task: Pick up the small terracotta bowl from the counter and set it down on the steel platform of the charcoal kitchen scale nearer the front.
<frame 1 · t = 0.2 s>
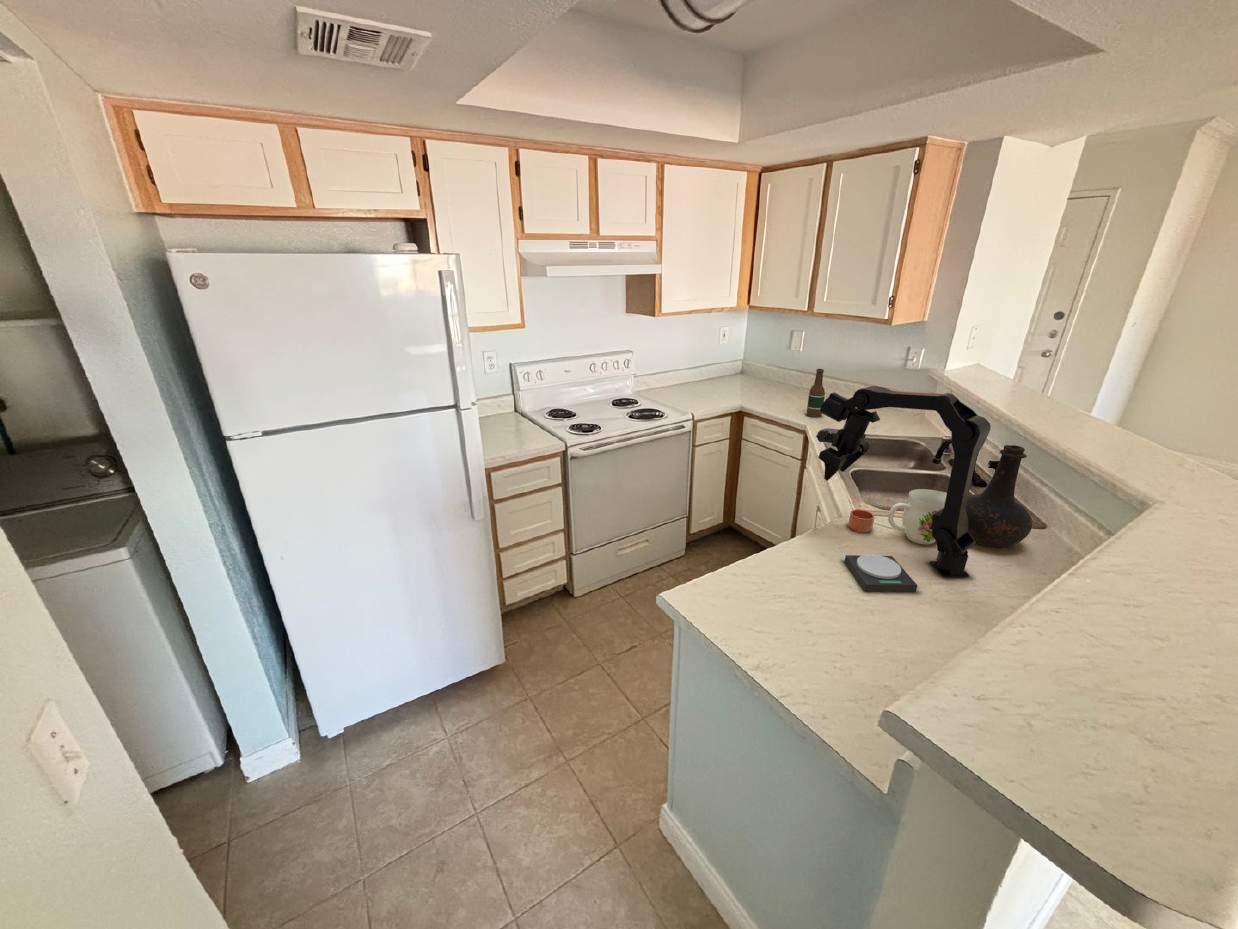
hand: (834, 475, 148), 15 cm above the counter, tool pointing down, fingers open, 9 cm apart
dark brown vase: (984, 539, 142), on the counter
scale: (878, 576, 126), on the counter
pitcher: (916, 539, 143), on the counter
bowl: (859, 527, 149), on the counter
beer bottle: (813, 415, 259), on the counter
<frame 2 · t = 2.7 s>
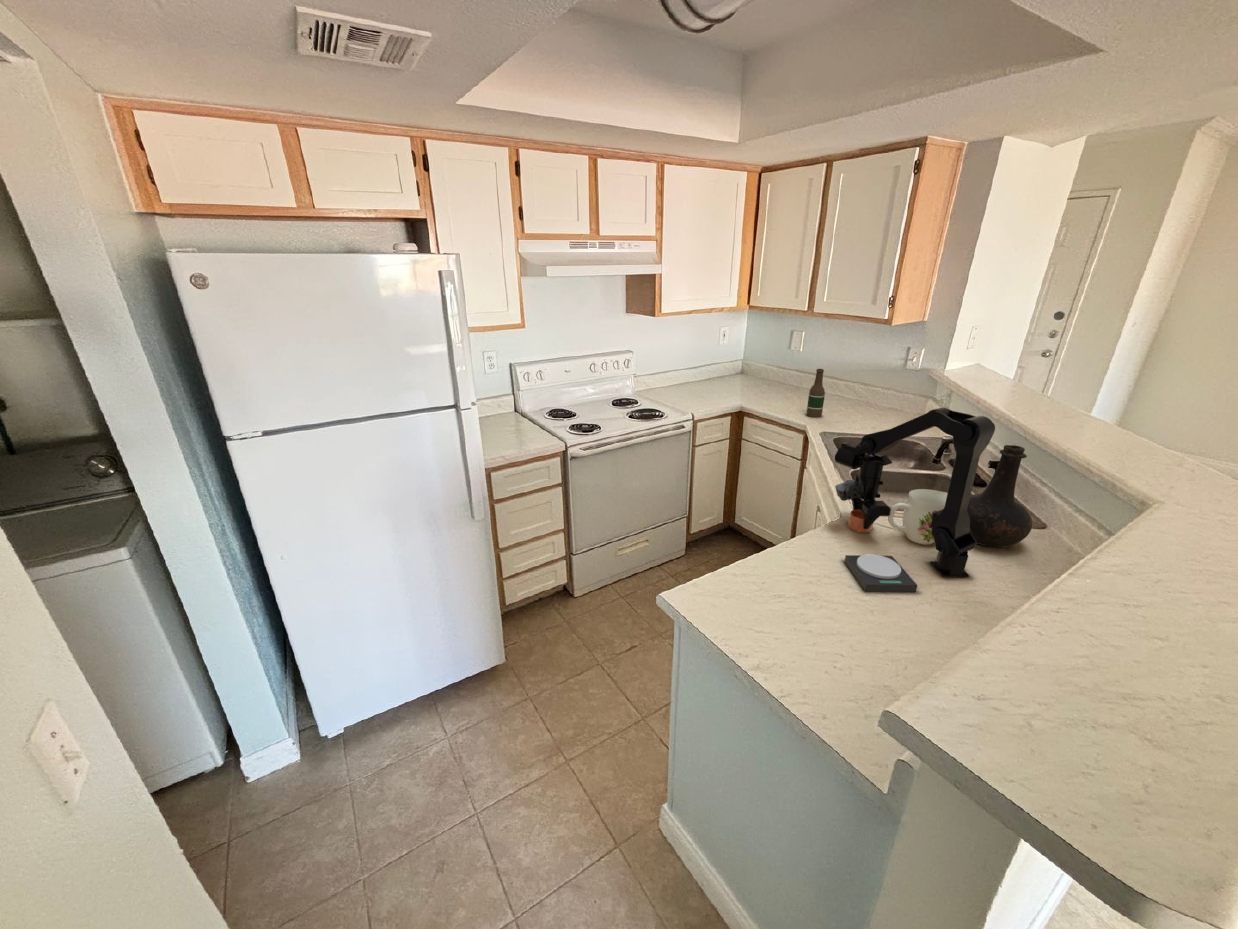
hand: (860, 523, 148), 2 cm above the counter, tool pointing down, fingers closed on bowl, 6 cm apart
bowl: (859, 527, 149), on the counter, touching gripper
everything else where it was.
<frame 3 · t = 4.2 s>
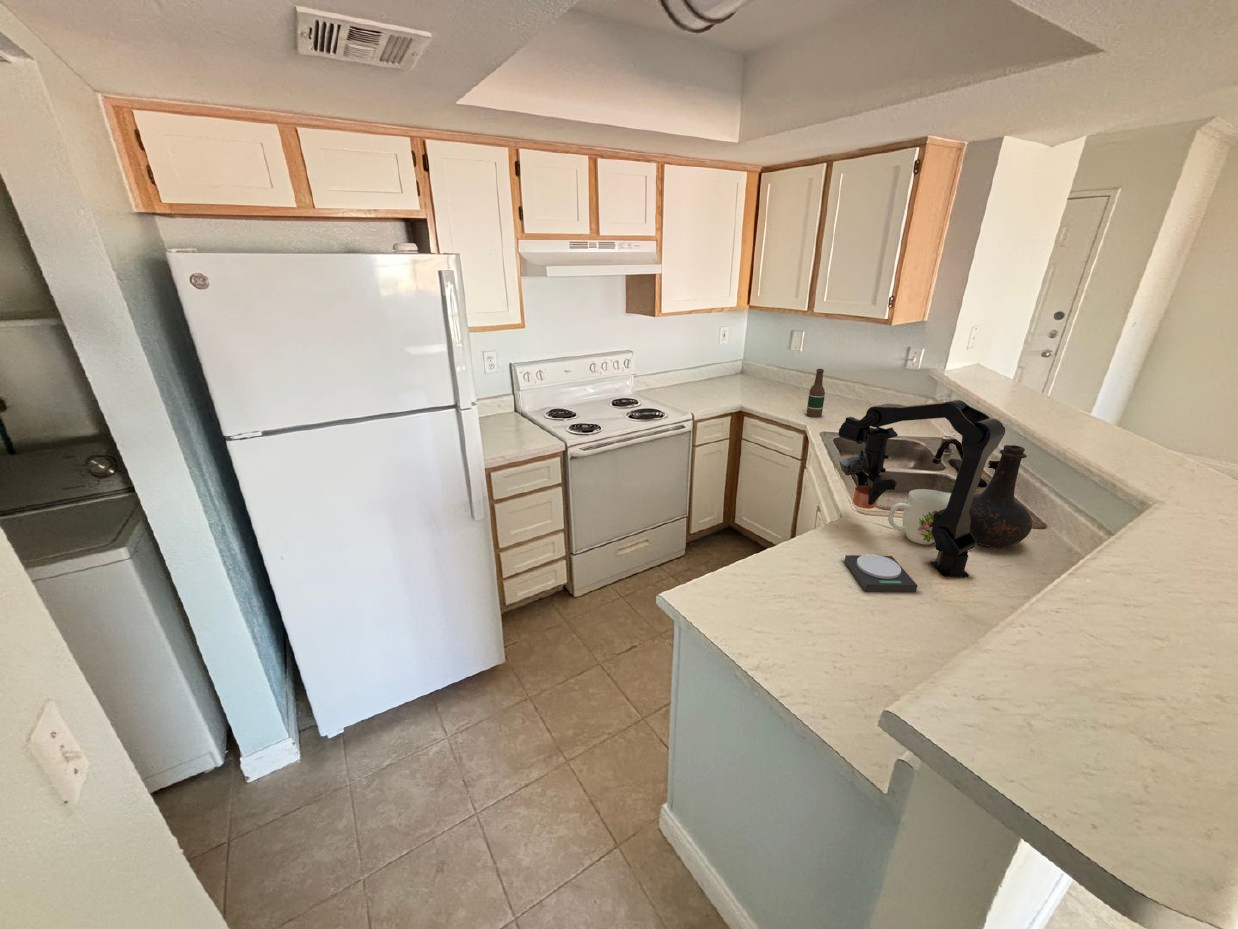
hand: (865, 499, 145), 9 cm above the counter, tool pointing down, fingers closed on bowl, 6 cm apart
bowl: (864, 504, 146), point 8 cm above the counter, touching gripper
everything else where it was.
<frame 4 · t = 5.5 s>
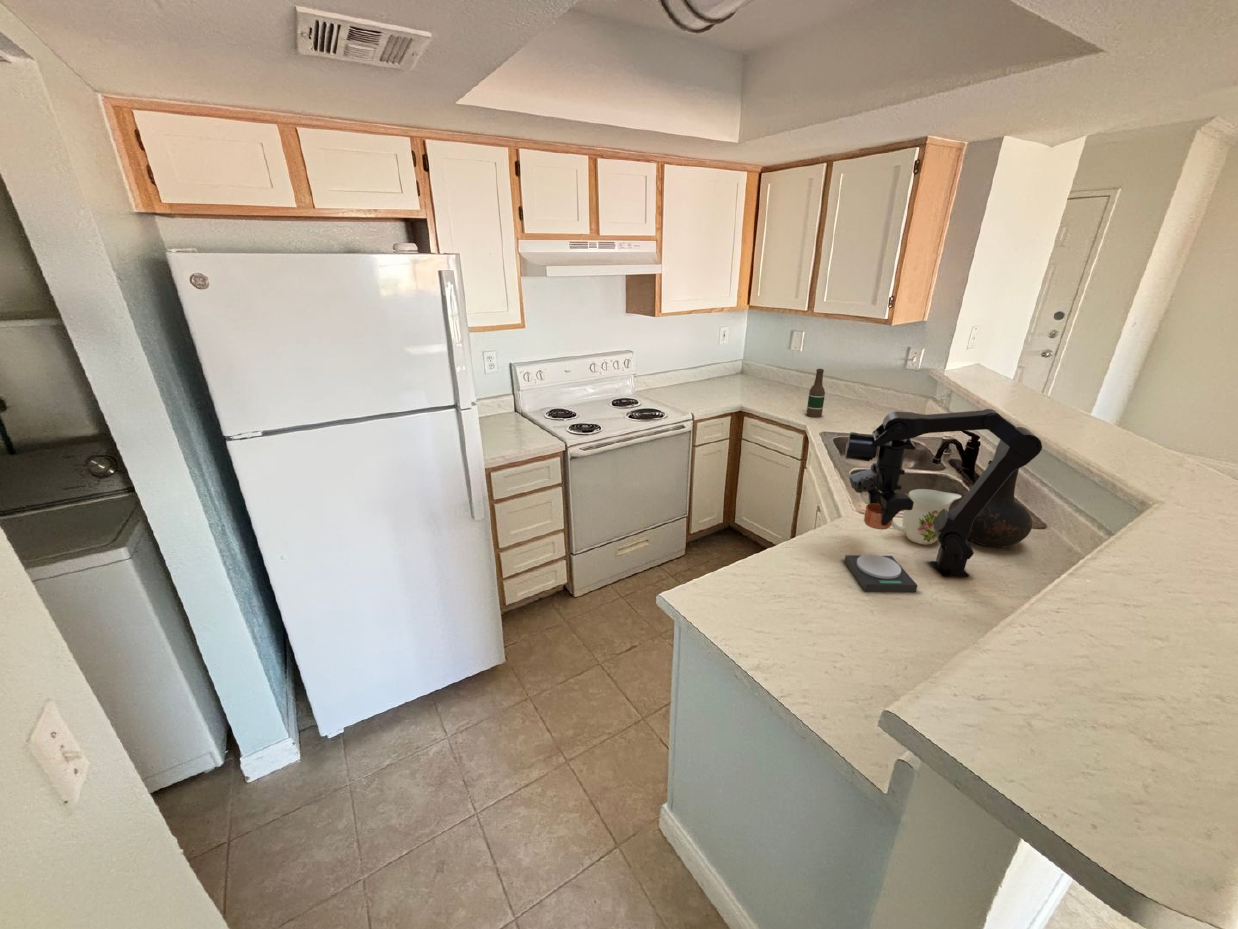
hand: (878, 518, 130), 11 cm above the counter, tool pointing down, fingers closed on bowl, 6 cm apart
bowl: (876, 524, 131), point 10 cm above the counter, touching gripper
everything else where it was.
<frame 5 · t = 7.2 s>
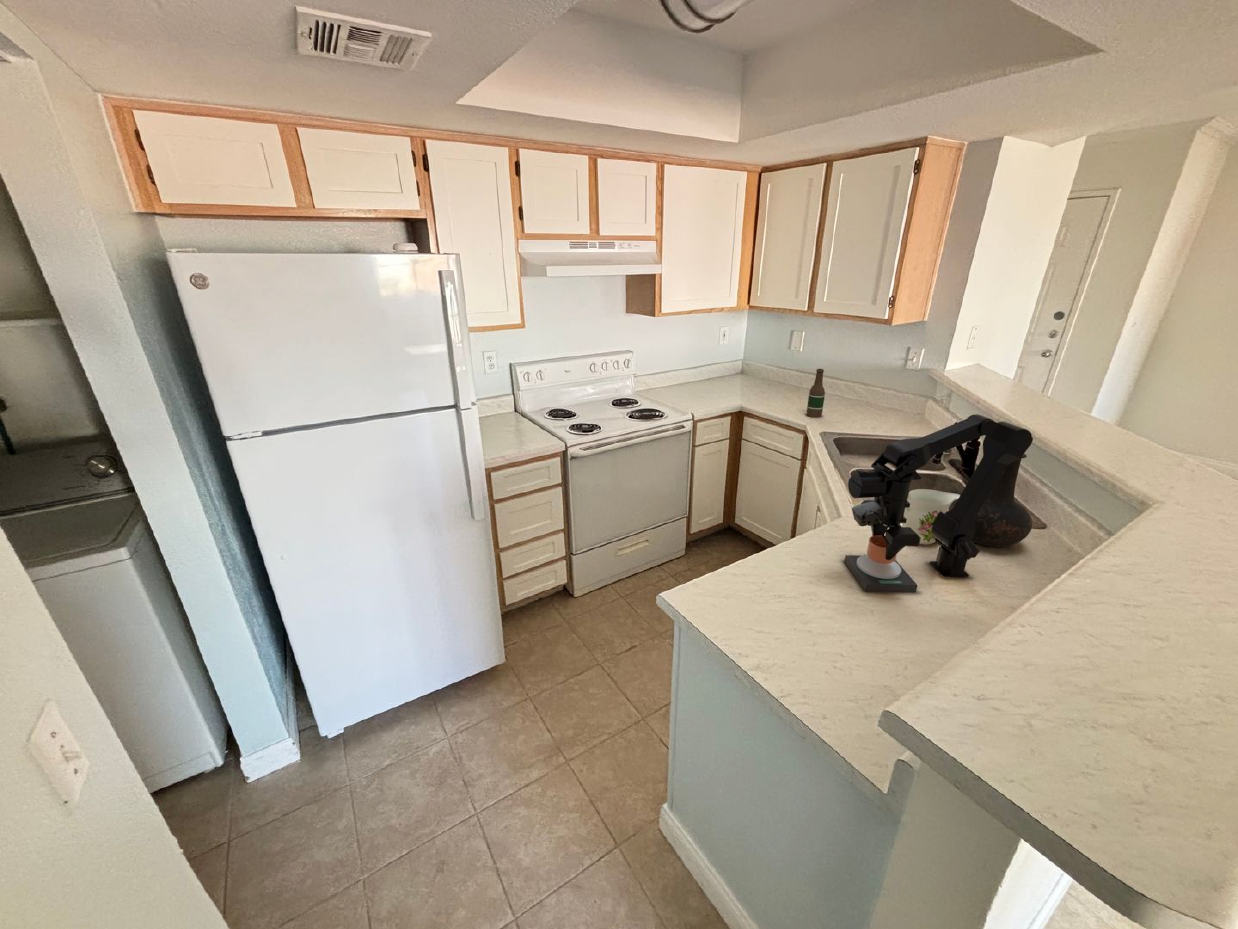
hand: (881, 552, 124), 6 cm above the counter, tool pointing down, fingers closed on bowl, 6 cm apart
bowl: (880, 557, 125), point 5 cm above the counter, touching gripper
everything else where it was.
when the fingers open (4 cm above the counter, at t = 8.4 s): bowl stays where it is, resting on scale.
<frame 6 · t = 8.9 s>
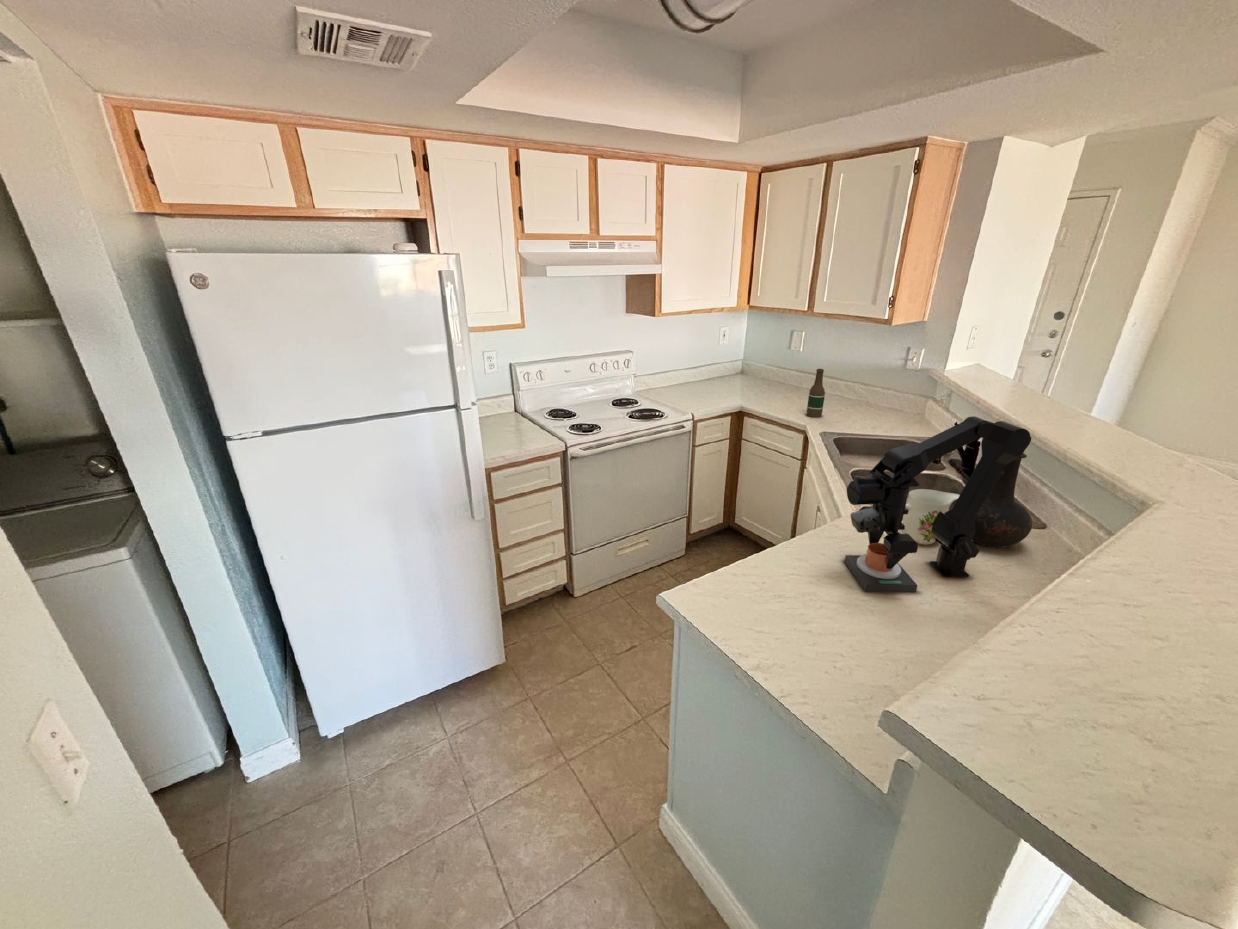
hand: (880, 558, 125), 5 cm above the counter, tool pointing down, fingers open, 9 cm apart
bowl: (878, 564, 126), point 3 cm above the counter, touching scale
everything else where it was.
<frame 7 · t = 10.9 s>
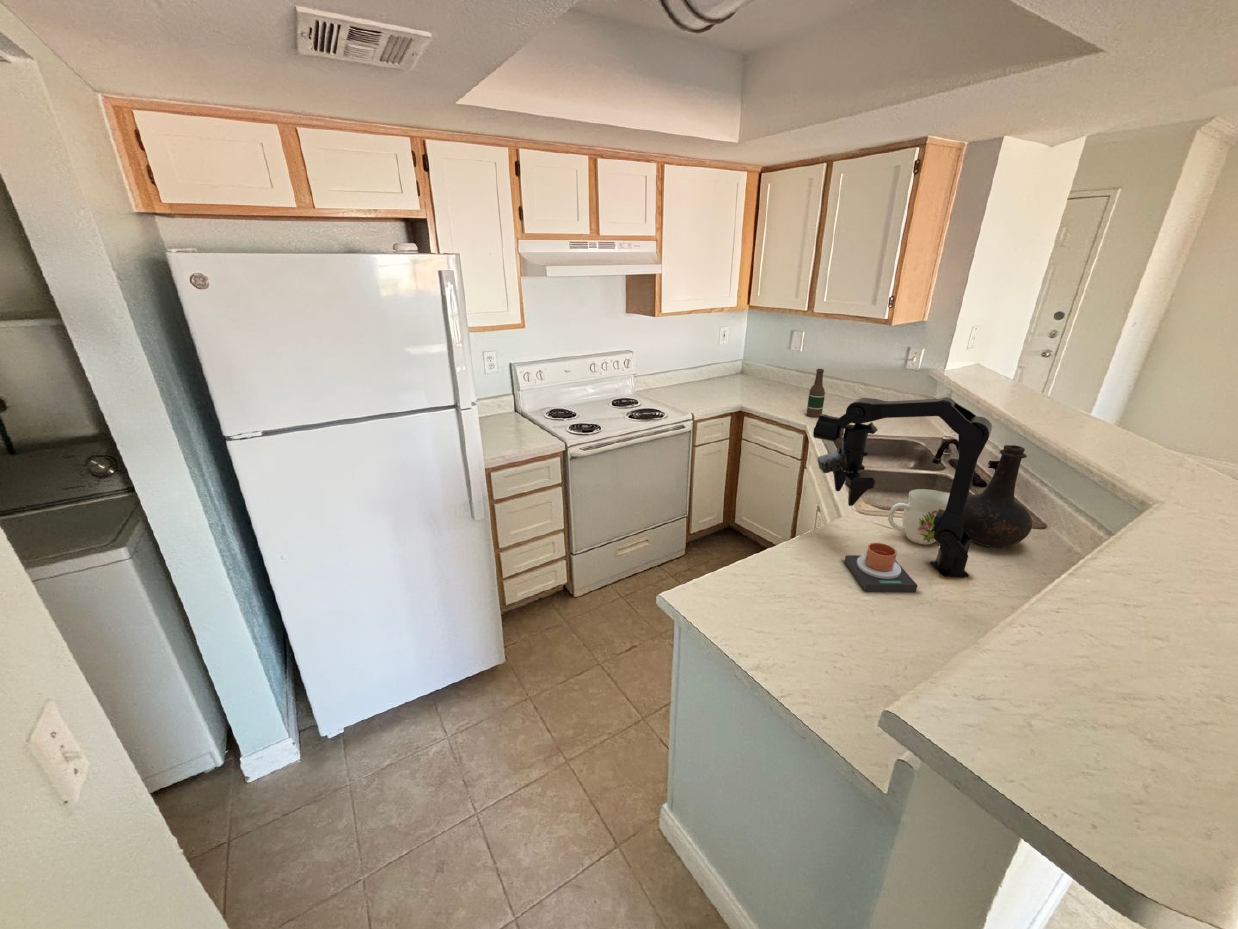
hand: (843, 498, 140), 12 cm above the counter, tool pointing down, fingers open, 9 cm apart
nothing on the counter moved.
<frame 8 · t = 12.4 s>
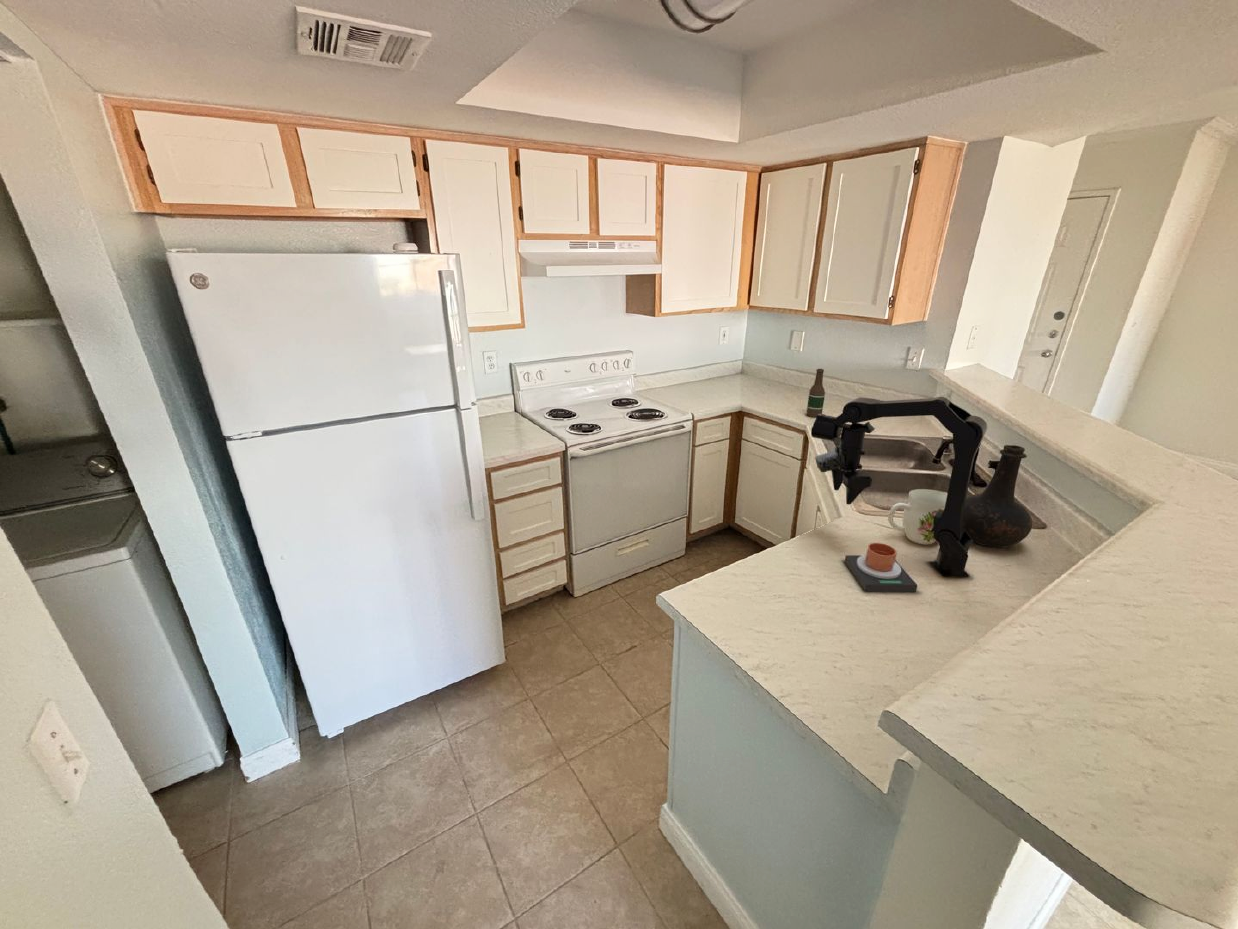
hand: (842, 497, 141), 12 cm above the counter, tool pointing down, fingers open, 9 cm apart
nothing on the counter moved.
at the end: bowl inside the target area on the scale (0.0 cm from its centre), point 2.8 cm above the scale's base; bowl tilted 0° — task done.
